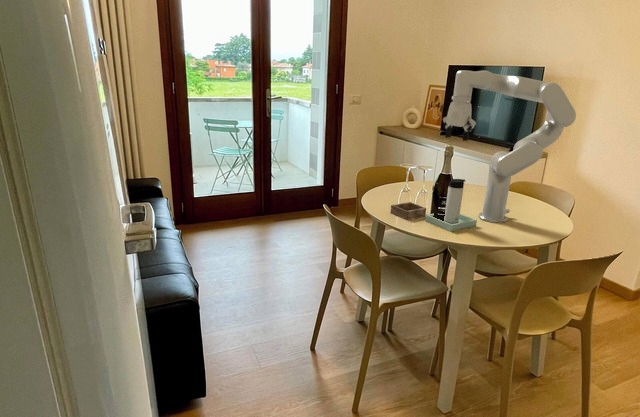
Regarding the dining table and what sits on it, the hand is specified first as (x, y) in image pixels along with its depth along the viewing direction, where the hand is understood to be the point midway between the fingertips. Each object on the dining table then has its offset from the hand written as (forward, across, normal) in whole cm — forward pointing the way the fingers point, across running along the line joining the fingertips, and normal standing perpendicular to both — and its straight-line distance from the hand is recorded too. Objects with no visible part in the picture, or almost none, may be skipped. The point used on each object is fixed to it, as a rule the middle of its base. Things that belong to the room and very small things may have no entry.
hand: (456, 138), depth 190 cm
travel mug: (+36, +10, -9) cm, 38 cm away
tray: (+36, +10, -9) cm, 38 cm away
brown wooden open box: (+36, -8, -17) cm, 41 cm away
